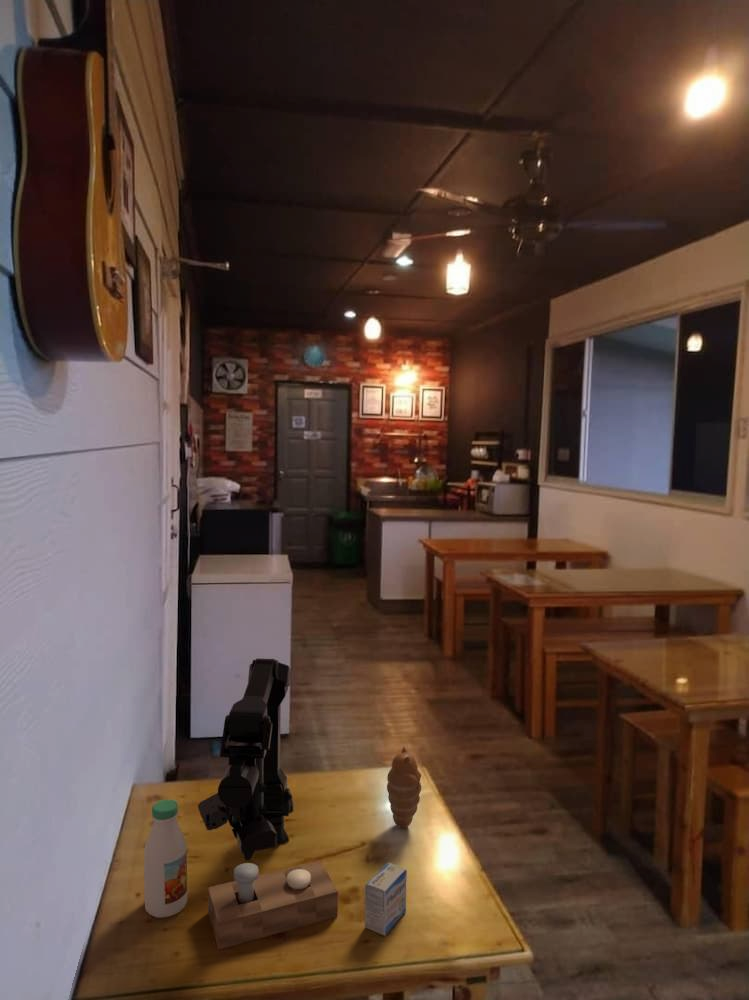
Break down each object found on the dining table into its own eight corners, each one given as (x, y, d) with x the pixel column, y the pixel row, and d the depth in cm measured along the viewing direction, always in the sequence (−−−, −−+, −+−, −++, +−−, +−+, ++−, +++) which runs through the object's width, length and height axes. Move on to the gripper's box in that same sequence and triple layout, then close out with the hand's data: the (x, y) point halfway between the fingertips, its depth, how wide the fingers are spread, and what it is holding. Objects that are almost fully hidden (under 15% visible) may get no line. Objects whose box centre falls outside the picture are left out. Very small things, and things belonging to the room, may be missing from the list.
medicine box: (384, 937, 124) (385, 892, 123) (363, 927, 126) (364, 883, 125) (406, 912, 130) (407, 868, 129) (386, 903, 133) (387, 860, 132)
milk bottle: (148, 924, 126) (146, 820, 124) (141, 898, 132) (139, 799, 130) (191, 911, 129) (190, 810, 127) (182, 887, 136) (181, 790, 134)
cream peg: (284, 899, 132) (284, 872, 131) (306, 893, 134) (306, 866, 133) (290, 914, 128) (290, 886, 127) (313, 908, 130) (313, 880, 129)
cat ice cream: (423, 836, 154) (425, 759, 152) (389, 839, 153) (390, 761, 151) (415, 814, 163) (417, 741, 161) (383, 816, 162) (384, 743, 160)
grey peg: (231, 894, 127) (231, 866, 127) (255, 888, 129) (255, 860, 129) (236, 909, 123) (236, 880, 123) (260, 903, 125) (260, 874, 125)
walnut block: (208, 912, 129) (208, 887, 128) (320, 883, 138) (320, 860, 137) (218, 949, 120) (218, 923, 119) (337, 916, 129) (337, 891, 128)
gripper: (193, 762, 129) (193, 841, 131) (211, 813, 112) (212, 903, 114) (251, 752, 134) (251, 828, 135) (278, 800, 117) (277, 886, 118)
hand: (247, 859), depth 126 cm, fingers closed
